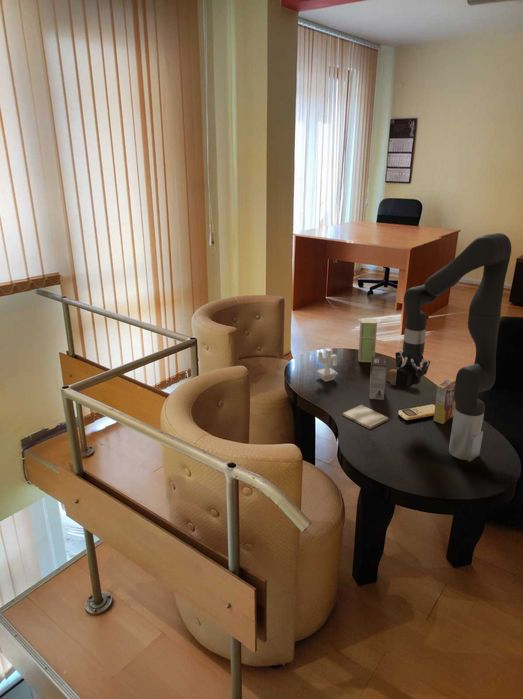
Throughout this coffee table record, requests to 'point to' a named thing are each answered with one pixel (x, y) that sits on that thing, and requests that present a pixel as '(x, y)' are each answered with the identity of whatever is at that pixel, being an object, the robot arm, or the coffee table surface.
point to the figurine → (327, 365)
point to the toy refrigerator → (367, 339)
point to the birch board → (365, 416)
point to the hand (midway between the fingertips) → (409, 381)
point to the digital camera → (405, 377)
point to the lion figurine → (391, 375)
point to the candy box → (444, 401)
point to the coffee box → (377, 378)
